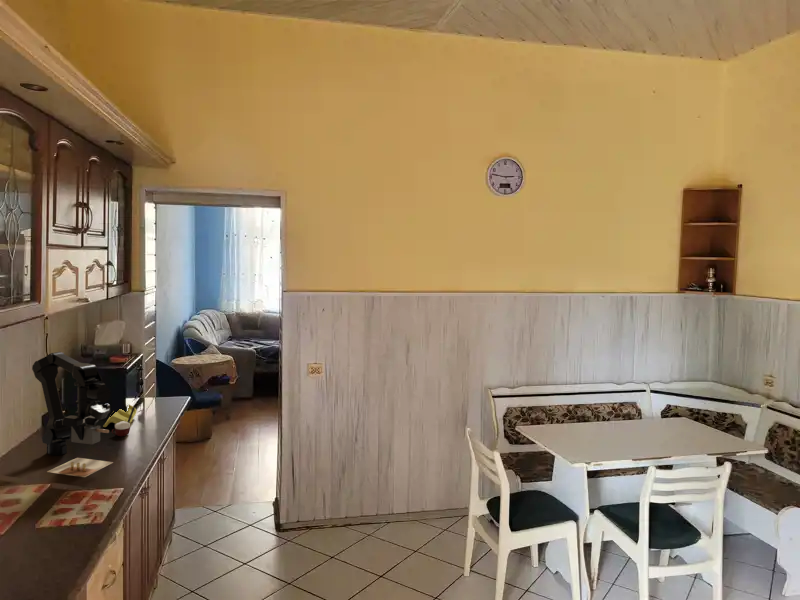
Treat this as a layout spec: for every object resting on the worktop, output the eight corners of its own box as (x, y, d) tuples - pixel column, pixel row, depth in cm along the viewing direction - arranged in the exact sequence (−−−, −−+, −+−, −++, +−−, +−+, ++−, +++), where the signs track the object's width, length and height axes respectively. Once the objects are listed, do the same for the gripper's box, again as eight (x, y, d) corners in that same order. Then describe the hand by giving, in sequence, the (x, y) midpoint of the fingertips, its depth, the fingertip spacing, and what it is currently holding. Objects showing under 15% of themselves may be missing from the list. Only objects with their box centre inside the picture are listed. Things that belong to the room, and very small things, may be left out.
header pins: (70, 470, 227) (70, 462, 227) (71, 469, 228) (71, 461, 228) (84, 472, 226) (84, 464, 226) (86, 471, 227) (86, 463, 227)
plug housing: (71, 441, 235) (71, 426, 234) (79, 438, 239) (79, 423, 239) (104, 445, 232) (104, 430, 232) (111, 442, 236) (111, 427, 236)
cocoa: (111, 438, 271) (110, 412, 269) (113, 433, 277) (111, 408, 275) (134, 436, 274) (133, 410, 272) (135, 431, 280) (135, 406, 278)
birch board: (46, 475, 225) (46, 471, 225) (77, 461, 241) (77, 457, 241) (84, 481, 222) (84, 476, 222) (113, 466, 238) (113, 462, 238)
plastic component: (130, 423, 286) (109, 414, 283) (123, 436, 286) (102, 428, 283) (138, 408, 305) (119, 400, 302) (131, 421, 305) (112, 413, 302)
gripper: (87, 406, 224) (87, 447, 225) (120, 394, 242) (120, 433, 243) (61, 403, 226) (61, 444, 227) (95, 391, 244) (95, 430, 246)
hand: (85, 438), depth 236 cm, fingers closed on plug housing, 4 cm apart
